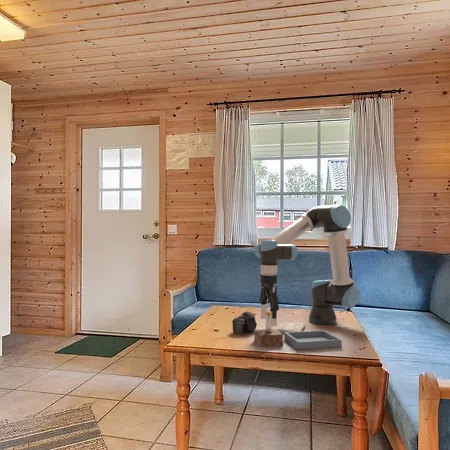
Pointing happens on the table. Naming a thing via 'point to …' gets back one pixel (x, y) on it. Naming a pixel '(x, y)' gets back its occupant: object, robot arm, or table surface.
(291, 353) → the table surface
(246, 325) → the camera
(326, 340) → the tray
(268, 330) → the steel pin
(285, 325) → the washcloth
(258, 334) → the block
